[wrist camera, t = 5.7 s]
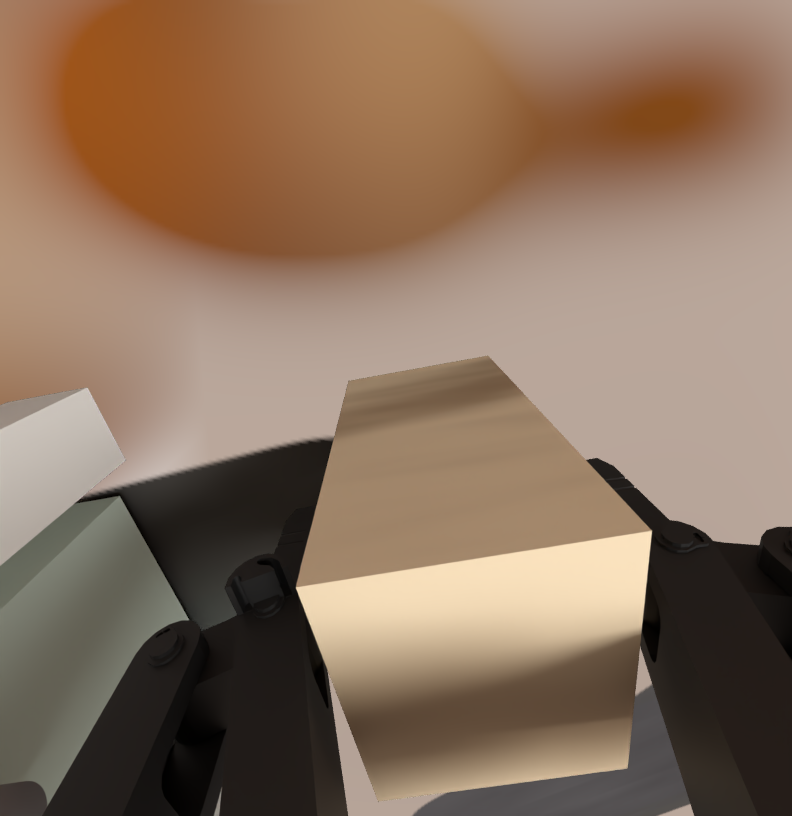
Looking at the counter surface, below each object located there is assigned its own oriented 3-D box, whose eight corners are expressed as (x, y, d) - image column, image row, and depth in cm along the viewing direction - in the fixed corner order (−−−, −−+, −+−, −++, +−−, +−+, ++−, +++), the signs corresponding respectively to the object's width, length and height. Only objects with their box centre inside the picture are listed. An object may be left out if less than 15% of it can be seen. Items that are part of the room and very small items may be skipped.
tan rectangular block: (348, 380, 14) (295, 587, 5) (488, 355, 14) (652, 531, 5) (381, 514, 16) (377, 801, 8) (500, 495, 16) (627, 768, 8)
